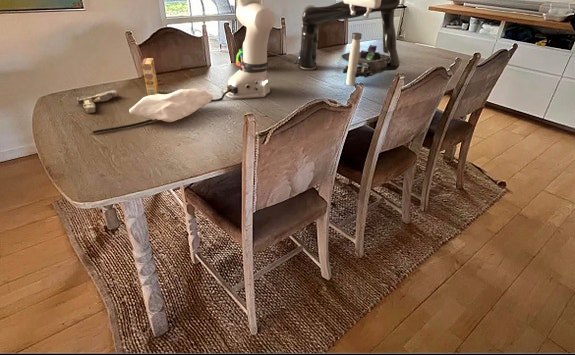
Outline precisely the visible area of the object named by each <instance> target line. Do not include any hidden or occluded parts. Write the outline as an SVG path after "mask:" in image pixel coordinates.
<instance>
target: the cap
mask: <svg viewBox="0 0 575 355" xmlns="http://www.w3.org/2000/svg"><path fill="white" fill-rule="evenodd" d="M362 36H363V33H361V32H352V34H351V39H352V40H353V39H354V40H362Z"/></svg>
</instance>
